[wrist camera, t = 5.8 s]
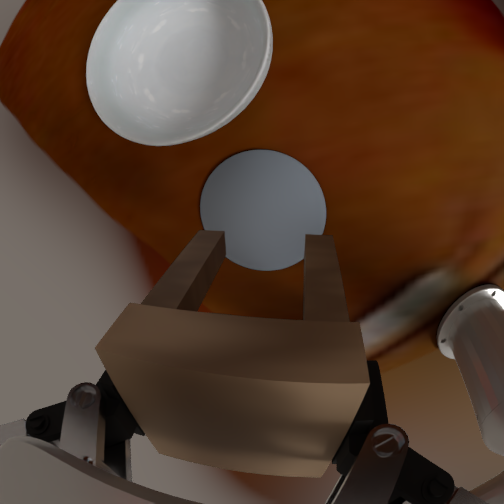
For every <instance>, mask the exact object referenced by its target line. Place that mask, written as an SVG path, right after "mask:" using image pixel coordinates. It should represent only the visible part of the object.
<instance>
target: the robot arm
mask: <svg viewBox="0 0 504 504" xmlns="http://www.w3.org/2000/svg"><path fill="white" fill-rule="evenodd" d="M437 344H438V346H439V349H440V351H441V353H442V354H443V355H445V356H446V357H448V358H452V359H455V360H456V362H457V364H458V367H459V369H460V372H461V374H462V377H463V380H464V382H465V385H466V388H467V390H468V394H469V396H470V399H471V402H472V405H473V408H474V411H475V415H476V418H477V421H478V424H479V428H480V431H481V434H482V438H483V441H484V443H485V444H486V446H487V447H488V448H489V449H490V450H491V451H493V452H495V453H497V454H500V455H503V456H504V291H503V290H502V289H501V288H500V287H498V286H496V285H490V284H488V285H482V286H479V287H476V288H474V289H472V290H470V291H468V292H467V293H465V294H464V295H463V296H461V297H460V298H459V299H458V300H457V301H456V302H454V304H453V305H452V306H451V307H450V308H449V309H448V311H447V312H446V314H445V315H444V316H443V318H442V320H441V322H440V325H439V328H438V330H437ZM367 367H368V373H369V380H370V385H369V387H368V389H367V391H366V394H365V396H364V398H363V400H362V403H361V405H360V407H359V409H358V411H357V413H356V415H355V417H354V419H353V421H352V423H351V425H350V427H349V429H348V431H347V433H346V435H345V437H344V439H343V441H342V443H341V444H340V446H339V448H338V450H337V452H336V453H335V455H334V457H333V459H332V464H337V471H338V472H339V473H340V474H341V476H340V478H339V480H338V482H337V483H336V485H335V487H334V489H333V491H332V492H331V494H330V496H329V497H328V499H327V501H326V502H325V504H504V470H503V471H502V472H501V473H500V474H498V475H497V476H495V477H493V478H491V479H490V480H488V481H486V482H485V483H483V484H481V485H479V486H477V487H475V488H474V489H472V490H470V491H467V490H466V489H464V488H463V487H459V488H458V487H456V486H454V480H453V478H452V476H451V475H450V474H449V473H447V472H446V471H444V470H443V469H441V468H440V467H438V466H437V465H435V464H433V463H432V462H430V461H429V460H427V459H426V458H424V457H423V456H421V455H420V454H418V453H417V452H416V451H414V450H413V449H411V448H410V447H409V439H408V435H407V434H406V432H405V431H404V430H403V429H402V428H401V427H399V426H397V425H394V424H388V417H387V410H386V404H385V398H384V392H383V386H382V381H381V375H380V370H379V365H378V362H377V361H367ZM134 433H136V434H139V435H142V436H144V435H145V433H144V432H143V430H142V429H141V427H140V426H139V424H138V423H137V421H136V420H135V418H134V417H133V415H132V413H131V412H130V410H129V409H128V407H127V405H126V404H125V402H124V401H123V399H122V397H121V396H120V394H119V392H118V390H117V389H116V387H115V385H114V383H113V382H112V380H111V378H110V376H109V374H108V373H107V371H106V370H105V372H104V373H103V375H102V376H101V378H100V379H99V381H98V382H97V384H96V385H94V384H92V383H88V382H85V383H80V384H78V385H76V386H74V387H73V388H72V389H71V390H70V392H69V394H68V397H67V401H64V402H61V403H58V404H55V405H52V406H48V407H45V408H42V409H39V410H36V411H34V412H32V413H31V414H30V415H29V417H28V418H27V420H25V419H21V420H18V421H14V422H11V423H7V424H4V425H0V504H202V503H197V502H193V501H189V500H186V499H182V498H178V497H175V496H171V495H168V494H164V493H162V492H158V491H155V490H152V489H149V488H146V487H144V486H141V485H138V484H136V483H133V482H132V471H131V449H130V438H132V436H133V434H134Z"/></svg>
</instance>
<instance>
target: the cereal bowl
mask: <svg viewBox="0 0 504 504" xmlns="http://www.w3.org/2000/svg"><path fill="white" fill-rule="evenodd" d="M272 37H273V35H272V28H271V23H270V19H269V15H268V12H267V10H266V7H265V5H264V3H263V2H262V0H118V1H117V2H116V3H115V4H114V5H113V6H112V7H111V8H110V10H109V11H108V12H107V14H106V15H105V17H104V18H103V20H102V21H101V23H100V25H99V26H98V28H97V30H96V32H95V34H94V37H93V39H92V42H91V45H90V49H89V52H88V58H87V64H86V80H87V88H88V93H89V96H90V99H91V102H92V104H93V107H94V109H95V111H96V112H97V114H98V115H99V117H100V118H101V120H102V121H103V122H104V123H105V124H106V125H107V126H108V127H109V128H110V129H111V130H113V131H114V132H115V133H117V134H118V135H120V136H121V137H123V138H125V139H128V140H130V141H133V142H136V143H140V144H145V145H152V146H171V145H175V144H182V143H184V142H189V141H192V140H194V139H198V138H201V137H203V136H205V135H208V134H210V133H212V132H214V131H215V130H217V129H219V128H221V127H222V126H224V125H226V124H227V123H228V122H230V121H231V120H232V119H233V118H235V117H236V116H237V115H238V114H240V113H241V111H242V110H244V109H245V108H246V106H247V105H248V104H249V103H250V102H251V100H253V98H254V96H255V95H256V94H257V92H258V90H259V89H260V88H261V85H262V84H263V82H264V79H265V77H266V75H267V72H268V69H269V66H270V62H271V57H272V51H273V49H272V47H273V38H272Z"/></svg>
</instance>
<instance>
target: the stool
mask: <svg viewBox="0 0 504 504" xmlns="http://www.w3.org/2000/svg"><path fill="white" fill-rule="evenodd" d="M225 256H226V244H225V231H210V230H199V231H198V233H197V234H196V235H195V236H194V237H193V239H192V240H191V241H190V242H189V243H188V245H187V246H186V247H185V248H184V250H183V251H182V252H181V253H180V255H179V256H178V257H177V258H176V259H175V261H174V262H173V263H172V264H171V266H170V267H169V268H168V270H167V271H166V272H165V273H164V275H163V276H162V277H161V278H160V280H159V281H158V282H157V284H156V285H155V286H154V287H153V289H152V290H151V291H150V293H149V294H148V295H147V296H146V298H145V299H144V300H143V302H142V303H141V304H135V303H129V304H128V306H127V307H126V308H125V309H124V311H123V312H122V313H121V314H120V316H119V317H118V318H117V319H116V321H115V322H114V323H113V325H112V326H111V327H110V329H109V330H108V331H107V333H106V334H105V335H104V336H103V338H102V339H101V340H100V342H99V343H98V344H97V346H96V347H95V349H96V351H97V353H98V355H99V357H100V359H101V361H102V363H103V365H104V367H105V369H106V371H107V373H108V374H109V376H110V378H111V380H112V382H113V383H114V385H115V387H116V389H117V390H118V392H119V394H120V396H121V397H122V399H123V401H124V402H125V404H126V405H127V407H128V409H129V410H130V412H131V413H132V415H133V417H134V418H135V420H136V421H137V423H138V424H139V426H140V427H141V429H142V430H143V432H144V433H145V434H146V436H147V437H148V439H149V440H150V441H151V443H152V444H153V446H154V447H155V448H156V450H157V451H158V452H159V453H160V454H163V455H166V456H170V457H174V458H178V459H181V460H185V461H189V462H194V463H198V464H203V465H207V466H212V467H217V468H223V469H229V470H235V471H241V472H249V473H257V474H266V475H278V476H293V477H294V476H295V477H322V475H323V474H324V472H325V470H326V469H327V467H328V465H329V464H330V462H331V460H332V459H333V457H334V455H335V453H336V452H337V450H338V448H339V446H340V444H341V443H342V441H343V439H344V437H345V435H346V433H347V431H348V429H349V427H350V425H351V423H352V421H353V419H354V417H355V415H356V413H357V411H358V409H359V407H360V405H361V403H362V400H363V398H364V396H365V394H366V391H367V389H368V387H369V385H370V380H369V373H368V367H367V361H366V355H365V349H364V344H363V338H362V333H361V328H360V323H359V322H350V321H349V315H348V310H347V304H346V298H345V293H344V288H343V282H342V277H341V272H340V267H339V263H338V258H337V253H336V249H335V244H334V240H333V235H313V234H305V250H304V296H303V320H288V319H272V318H259V317H246V316H235V315H228V314H218V313H204V312H197V311H198V309H199V307H200V305H201V303H202V301H203V299H204V297H205V295H206V293H207V291H208V289H209V287H210V285H211V283H212V281H213V279H214V277H215V275H216V274H217V272H218V270H219V268H220V266H221V264H222V262H223V260H224V258H225Z"/></svg>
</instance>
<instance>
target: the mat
mask: <svg viewBox="0 0 504 504" xmlns="http://www.w3.org/2000/svg"><path fill="white" fill-rule="evenodd" d="M200 214H201V219H202V223H203V227H204V229H205V230H210V231H225V244H226V256H225V257H227V258H228V259H229V260H231V261H233V262H234V263H236V264H239V265H241V266H243V267H246V268H250V269H254V270H262V271H271V270H279V269H283V268H286V267H289V266H292V265H294V264H296V263H297V262H299V261H301V260H302V259H304V250H305V234H313V235H322V233H323V231H324V227H325V222H326V205H325V199H324V196H323V192H322V190H321V188H320V185H319V183H318V182H317V180H316V179H315V177H314V176H313V174H312V173H311V172H310V171H309V170H308V169H307V168H306V167H305V166H304V165H303V164H301V163H300V162H299V161H297V160H296V159H294V158H292V157H290V156H288V155H286V154H283V153H280V152H277V151H272V150H260V149H259V150H250V151H245V152H241V153H239V154H236V155H234V156H232V157H230V158H228V159H227V160H225V161H224V162H222V163H221V164H220V165H219V166H218V167H217V168H216V169H215V170H214V171H213V172H212V174H211V175H210V176H209V178H208V180H207V181H206V183H205V186H204V188H203V191H202V196H201V202H200Z"/></svg>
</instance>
